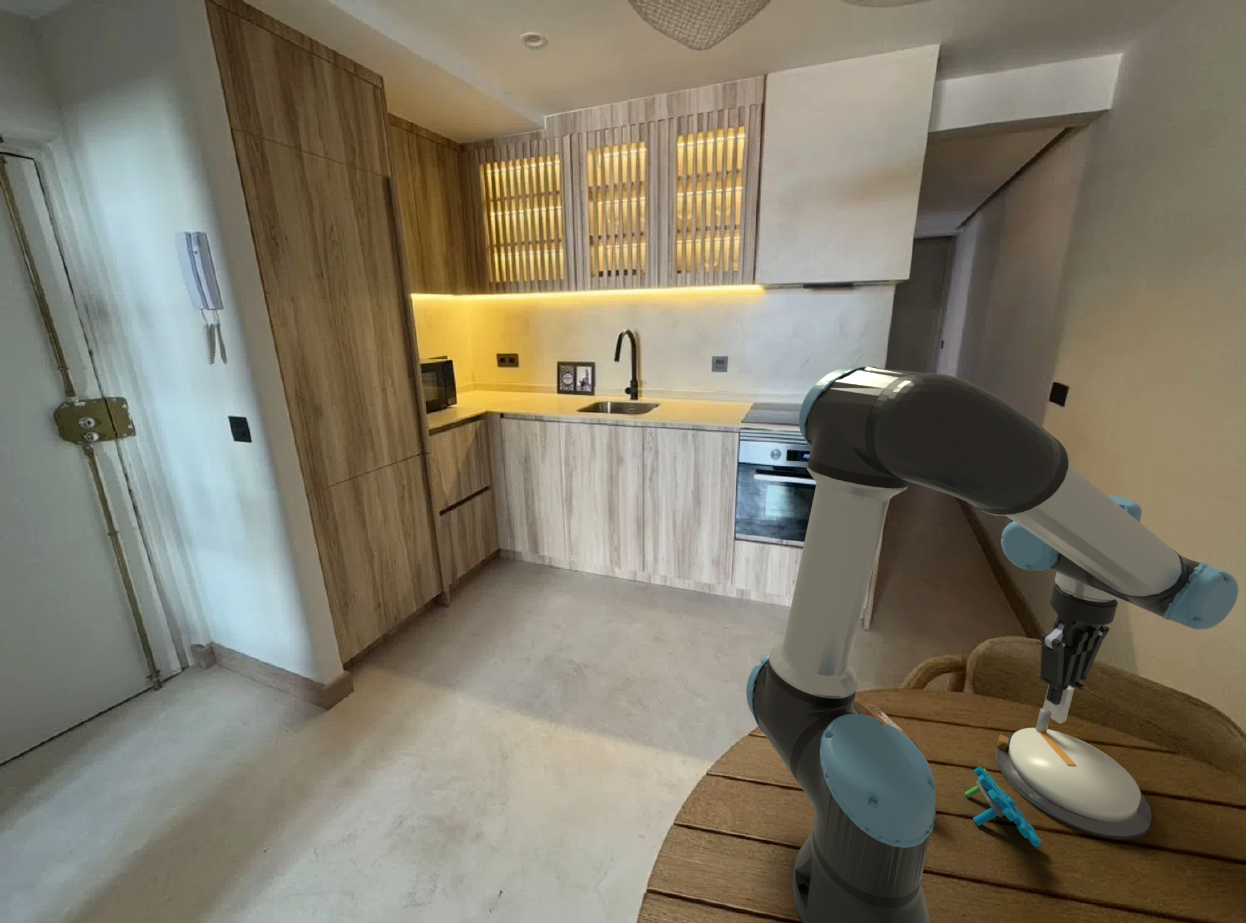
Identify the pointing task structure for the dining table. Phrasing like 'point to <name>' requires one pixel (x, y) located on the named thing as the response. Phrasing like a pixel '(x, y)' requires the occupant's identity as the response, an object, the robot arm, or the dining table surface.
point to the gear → (1000, 805)
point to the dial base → (1094, 827)
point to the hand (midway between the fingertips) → (1053, 716)
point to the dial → (1073, 773)
